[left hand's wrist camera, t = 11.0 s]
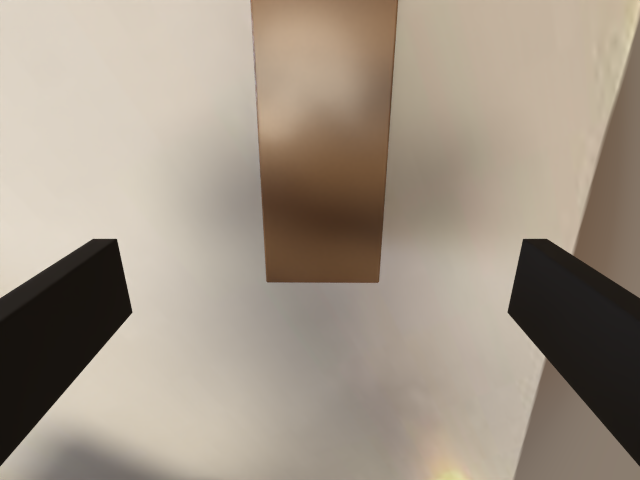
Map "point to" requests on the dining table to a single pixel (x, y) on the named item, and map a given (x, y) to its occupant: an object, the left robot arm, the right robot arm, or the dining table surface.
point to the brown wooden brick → (323, 134)
